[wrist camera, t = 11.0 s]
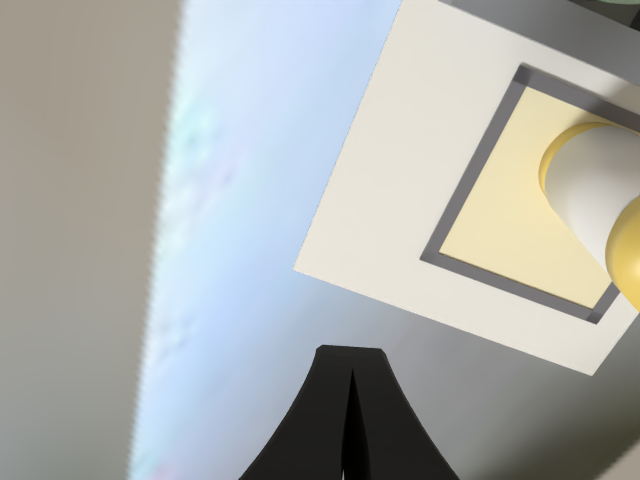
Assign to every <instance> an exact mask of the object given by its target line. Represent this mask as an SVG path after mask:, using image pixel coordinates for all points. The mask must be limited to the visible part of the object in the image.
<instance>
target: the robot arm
mask: <svg viewBox="0 0 640 480" xmlns="http://www.w3.org/2000/svg"><path fill="white" fill-rule="evenodd" d="M343 469H344V480H460V479H459V478H458V476H457V475H456V474H455V472H454V471H453V470H452V469H451V467H450V466H449V464H448V463H447V462H446V460H445V459H444V458H443V456H442V455H441V453H440V452H439V450H438V449H437V447H436V446H435V444H434V443H433V442H432V440H431V439H430V437H429V436H428V434H427V432H426V431H425V429H424V428H423V426H422V425H421V423H420V421H419V419H418V418H417V416H416V414H415V413H414V411H413V409H412V408H411V406H410V404H409V402H408V401H407V399H406V397H405V395H404V393H403V391H402V389H401V387H400V386H399V384H398V382H397V380H396V377H395V375H394V373H393V371H392V369H391V367H390V364H389V362H388V359H387V356H386V354H385V353H384V352H383V350H382V349H378V348H363V347H349V346H334V345H321V346H320V347H318V348H317V349H316V353H315V357H314V360H313V363H312V366H311V368H310V370H309V373H308V375H307V377H306V379H305V381H304V383H303V385H302V387H301V389H300V391H299V393H298V395H297V396H296V398H295V400H294V402H293V404H292V405H291V407H290V409H289V411H288V412H287V414H286V415H285V417H284V419H283V420H282V422H281V423H280V425H279V426H278V428H277V429H276V431H275V432H274V434H273V435H272V437H271V438H270V440H269V441H268V443H267V444H266V445H265V447H264V448H263V449H262V451H261V452H260V453H259V455H258V456H257V457H256V459H255V460H254V461H253V462H252V464H251V465H250V466H249V467H248V469H247V470H246V471H245V472H244V474H243V475H242V476H241V477H240V478H239V479H238V480H342V477H343Z"/></svg>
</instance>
